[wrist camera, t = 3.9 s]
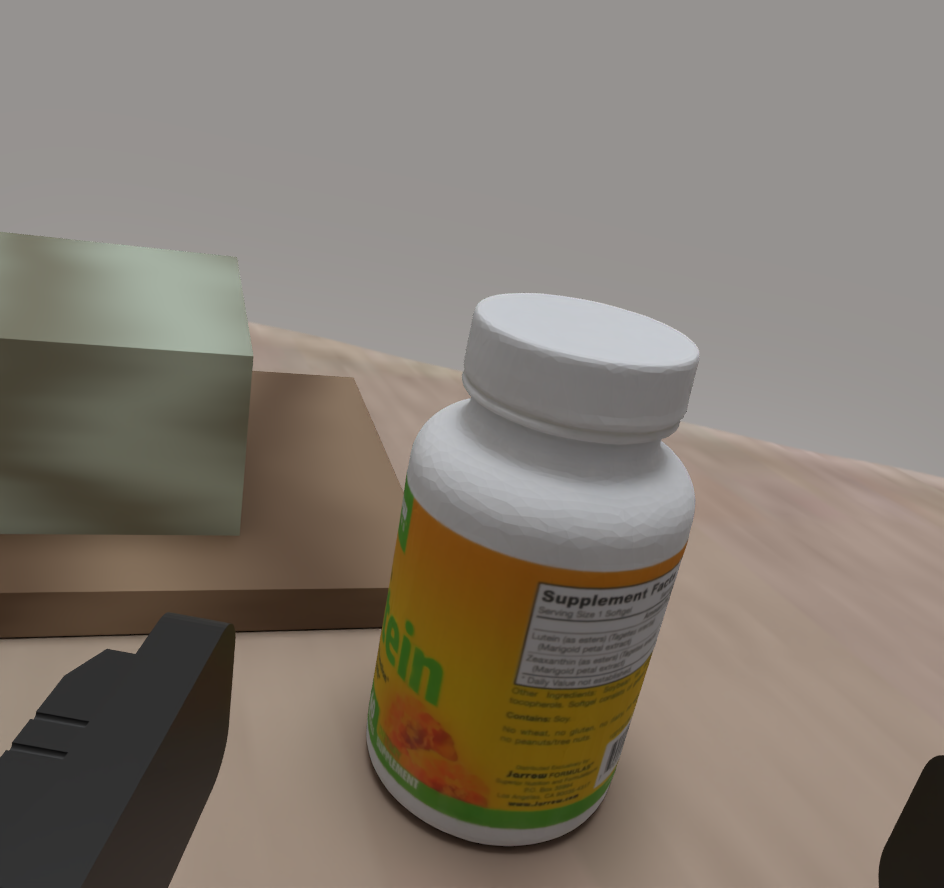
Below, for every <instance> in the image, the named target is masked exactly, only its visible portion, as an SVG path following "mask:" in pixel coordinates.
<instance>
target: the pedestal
mask: <svg viewBox="0 0 944 888" xmlns="http://www.w3.org/2000/svg"><path fill="white" fill-rule="evenodd" d="M252 367H253V351H252V345H251V339H250V333H249V327H248V321H247V315H246V310H245V303H244V298H243V291H242V285H241V279H240V273H239V267H238V261H237V257H231V256H221V255H211V254H202V253H192V252H184V251H174V250H164V249H155V248H146V247H137V246H127V245H118V244H109V243H98V242H90V241H80V240H70V239H61V238H52V237H43V236H33V235H24V234H15V233H5V232H0V638H6V637H42V636H78V635H114V634H150V632H151V631H152V630H153V628H154V627H155V625H156V624H157V622H158V621H159V620H160V618H161V617H162V616H163V615H164V614H165V613H167V612H171V613H176V614H182V615H187V616H193V617H198V618H204V619H209V620H215V621H220V622H226V623H231V624H233V625H234V627H235V631H259V630H295V629H331V628H367V627H382V625H383V620H384V614H385V607H386V601H387V595H388V589H389V583H390V577H391V570H392V564H393V558H394V552H395V546H396V540H397V534H398V528H399V522H400V515H401V508H402V502H403V495H404V493H403V490H402V488H401V486H400V483H399V481H398V479H397V477H396V474H395V472H394V470H393V467H392V465H391V463H390V460H389V458H388V456H387V454H386V451H385V449H384V447H383V444H382V442H381V440H380V437H379V435H378V433H377V431H376V428H375V426H374V424H373V421H372V419H371V417H370V414H369V412H368V410H367V408H366V405H365V403H364V401H363V398H362V396H361V394H360V391H359V389H358V387H357V385H356V382H355V380H354V378H351V377H336V376H321V375H306V374H291V373H276V372H261V371H252Z"/></svg>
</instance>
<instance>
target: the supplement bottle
mask: <svg viewBox="0 0 944 888" xmlns="http://www.w3.org/2000/svg"><path fill="white" fill-rule="evenodd" d="M698 362H699V350H698V348H697V346H696V345H695V343H694V342H693V341H691V340H690V339H689V338H688V337H687V336H685V335H684V334H682V333H681V332H679V331H678V330H676V329H674V328H672V327H670V326H668V325H666V324H664V323H662V322H659V321H657V320H654V319H652V318H649V317H647V316H644V315H641V314H638V313H635V312H632V311H628V310H625V309H621V308H618V307H614V306H610V305H607V304H603V303H599V302H594V301H589V300H583V299H578V298H571V297H565V296H559V295H550V294H539V293H511V294H500V295H494V296H491V297H488V298H485V299H483V300H482V301H480V302H479V304H478V305H477V306H476V308H475V311H474V314H473V319H472V324H471V329H470V334H469V338H468V343H467V349H466V354H465V360H464V371H463V374H462V381H463V385H464V387H465V389H466V390H467V392H468V393H469V395H470V396H471V398H469V399H465V400H462V401H459V402H456V403H454V404H452V405H449V406H447V407H445V408H444V409H442V410H440V411H439V412H437V413H436V414H435V415H433V416H432V417H431V418H430V419H429V420H428V421H427V422H426V423H425V424H424V426H423V427H422V429H421V430H420V431H419V433H418V435H417V437H416V439H415V441H414V443H413V447H412V451H411V455H410V460H409V466H408V470H407V475H406V482H405V490H404V495H403V502H402V508H401V515H400V522H399V528H398V534H397V540H396V546H395V552H394V558H393V564H392V570H391V577H390V583H389V589H388V595H387V601H386V607H385V614H384V620H383V625H382V631H381V636H380V643H379V649H378V655H377V661H376V667H375V673H374V679H373V685H372V691H371V697H370V702H369V709H368V718H367V733H366V736H367V745H368V751H369V755H370V758H371V761H372V764H373V766H374V768H375V770H376V772H377V774H378V776H379V777H380V779H381V781H382V783H383V784H384V785H385V787H386V788H387V789H388V791H389V792H390V793H391V794H392V795H393V796H394V798H395V799H396V800H397V801H398V802H400V803H401V804H402V805H403V806H404V807H405V808H406V809H408V810H409V811H410V812H411V813H413V814H414V815H416V816H417V817H418V818H420V819H421V820H423V821H424V822H426V823H428V824H430V825H432V826H433V827H435V828H437V829H439V830H441V831H443V832H446V833H448V834H451V835H453V836H456V837H459V838H462V839H465V840H468V841H471V842H476V843H480V844H486V845H497V846H520V845H529V844H535V843H540V842H544V841H548V840H551V839H554V838H557V837H560V836H562V835H564V834H566V833H568V832H570V831H572V830H574V829H575V828H577V827H578V826H579V825H581V824H582V823H583V822H584V821H586V820H587V819H588V818H589V817H590V816H591V815H592V814H593V813H594V811H595V810H596V809H597V808H598V806H599V805H600V803H601V802H602V800H603V799H604V797H605V795H606V793H607V791H608V788H609V786H610V783H611V780H612V778H613V775H614V773H615V770H616V767H617V763H618V760H619V758H620V755H621V751H622V748H623V745H624V741H625V738H626V735H627V732H628V729H629V725H630V722H631V719H632V716H633V713H634V710H635V706H636V703H637V700H638V696H639V693H640V690H641V687H642V684H643V681H644V677H645V674H646V671H647V668H648V665H649V662H650V659H651V656H652V652H653V649H654V647H655V644H656V641H657V637H658V634H659V631H660V627H661V624H662V621H663V617H664V614H665V611H666V608H667V605H668V601H669V598H670V595H671V592H672V589H673V585H674V582H675V579H676V576H677V573H678V570H679V566H680V563H681V560H682V557H683V554H684V551H685V548H686V545H687V542H688V538H689V533H690V529H691V525H692V522H693V517H694V512H695V494H694V488H693V484H692V481H691V479H690V476H689V474H688V472H687V470H686V468H685V466H684V465H683V463H682V462H681V460H680V459H679V458H678V457H677V455H676V454H675V453H674V452H673V451H672V450H671V449H670V448H669V447H668V446H667V445H666V444H664V443H663V442H662V441H661V439H663V438H666V437H669V436H670V435H671V434H673V433H674V432H675V431H676V430H677V429H678V427H679V424H680V420H681V419H682V418H683V417H684V415H685V413H686V412H687V407H688V402H689V397H690V393H691V389H692V386H693V381H694V377H695V374H696V370H697V366H698Z"/></svg>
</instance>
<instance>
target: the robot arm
mask: <svg viewBox="0 0 944 888" xmlns="http://www.w3.org/2000/svg"><path fill="white" fill-rule="evenodd" d="M234 651H235V627H234V625H233V624H231V623H226V622H220V621H215V620H209V619H204V618H198V617H193V616H187V615H182V614H176V613H171V612H167V613H165V614H164V615H163V616H162V617H161V618H160V620H159V621H158V622H157V624H156V625H155V627H154V628H153V630H152V631H151V632H150V634H149V635H148V637H147V638H146V640H145V641H144V643H143V644H142V646H141V647H140V648H139V650H138V651H137V653H136V654H132V653H127V652H121V651H116V650H110V649H106V650H104V651H103V652H101V653H100V654H98V655H96V656H95V657H93V658H92V659H90V660H88V661H87V662H85V663H84V664H82V665H81V666H79V667H77V668H76V669H74V670H73V671H71V672H69V673H68V674H66V675H65V676H64V677H63V678H62V679H61V681H60V682H59V683H58V685H57V686H56V687H55V688H54V690H53V691H52V692H51V693H50V695H49V696H48V697H47V699H46V700H45V701H44V702H43V704H42V705H41V706H40V708H39V709H38V710H37V711H36V716H35V718H34V720H33V719H30V720H29V722H28V723H27V724H26V725H25V727H24V728H23V729H22V731H21V732H20V733H19V734H18V736H17V737H16V738H15V739H14V741H13V742H12V747H11V749H10V750H9V751H8V750H6V751H5V752H4V754H3V755H2V756H1V757H0V888H168V886H169V884H170V882H171V880H172V878H173V875H174V873H175V871H176V869H177V866H178V864H179V862H180V860H181V858H182V855H183V853H184V851H185V849H186V846H187V844H188V842H189V840H190V838H191V835H192V833H193V831H194V829H195V826H196V824H197V822H198V820H199V818H200V815H201V813H202V811H203V809H204V806H205V804H206V802H207V800H208V798H209V795H210V793H211V791H212V789H213V786H214V784H215V781H216V778H217V776H218V773H219V770H220V766H221V763H222V759H223V755H224V751H225V747H226V742H227V736H228V728H229V716H230V703H231V690H232V677H233V664H234ZM879 888H944V755H941V756H936V757H934V758H932V759H931V760H930V761H929V762H928V763H927V764H926V766H925V767H924V769H923V771H922V773H921V775H920V777H919V779H918V781H917V783H916V785H915V787H914V789H913V791H912V793H911V795H910V797H909V799H908V801H907V803H906V805H905V807H904V809H903V811H902V813H901V815H900V817H899V819H898V821H897V823H896V825H895V827H894V829H893V831H892V833H891V835H890V837H889V839H888V841H887V843H886V845H885V847H884V850H883V852H882V855H881V859H880V865H879Z"/></svg>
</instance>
